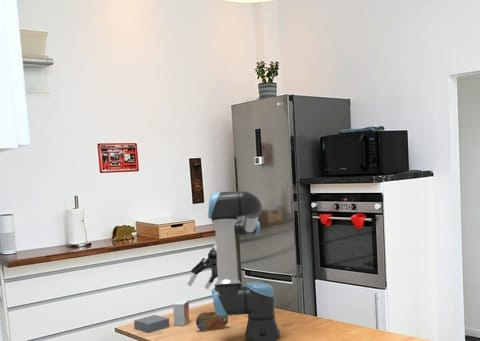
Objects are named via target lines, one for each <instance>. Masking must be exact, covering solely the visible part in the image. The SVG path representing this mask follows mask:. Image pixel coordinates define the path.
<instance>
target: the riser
mask: <svg viewBox="0 0 480 341" xmlns="http://www.w3.org/2000/svg"><path fill="white" fill-rule="evenodd" d="M133 324H134V329H135V330H137V331H141V332H143V333H147V334H150V333H153V331H154V332H157V331H160V330H163V329H165V328H170V318H169V317H165V316H160V315H157V314H152V315H150V316H145V317H141V318H139V319H134V320H133Z"/></svg>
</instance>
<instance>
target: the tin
mask: <svg viewBox="0 0 480 341" xmlns="http://www.w3.org/2000/svg"><path fill="white" fill-rule="evenodd" d="M228 321H229V317H228V316H219V315H217V314H216V312H215V310H213V311H204V312H201V313H199V314H198V315H197V317H196V319H195V324H196V328H198V329H199V330H200V331H202V332H209V331H210V332H211V331H216V330H221V329H224V328H225V327H226V326H227V325H228Z"/></svg>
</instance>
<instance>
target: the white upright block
mask: <svg viewBox="0 0 480 341" xmlns="http://www.w3.org/2000/svg"><path fill="white" fill-rule="evenodd" d="M189 303H190V301H189V300H177V301H176V302H175V303H173V304H172V305H173V306H172V307H173V308H172V309H173V326H176V327H179V326H180V327H182V326H186V325H187V324H189V323H190V305H189Z"/></svg>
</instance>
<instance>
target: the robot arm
mask: <svg viewBox="0 0 480 341" xmlns="http://www.w3.org/2000/svg"><path fill="white" fill-rule="evenodd" d="M262 204H263V203H262V202H261V200H260V199H259V197H258V196H257V195H255V194H253V193H252V192H249V191H246V190H239V191H238V190H237V191H219V192H218V191H217V192H213V193H211V194H210V196H209V200H208V214H207V216H208V219H209V220H211V223H212V224H213V225H214V228H215V242H214V244H213V245H212V247H211V249H209V252H208V254H207V258H204V257H203V258H201V260H200V261H199V262H198V263H197V264H196V265H195V266H194V267H193V268H192V269H191V270H190V272H191V275H190V277H189V279H188V280H187V282H186V284H187V285H188V287H192V285H193V283H194V282H195V280H196V278H197V277H198V275H199V274H201V272H203V271H204V270H207V269H211V274H210V275H209V276H208V279H207V280H206V282H205V283H204V285H203V287H205V289H206V290H209V289H210V287H211V285H212V284H213V283H214V281H215V279H217V281H216V282H215V283H214V288H212V289H211V295H212V300H213V301H212V302H213V307H214V311H215V312H216V314H217V315H219V316H227V317H228V316H237V315H238V316H239V315H247V324H246V327H245V328H246V329H245V332H244V339H245V340H246V341H273V340H275V341H277V340H279V339H280V338H281V332H280V329H279V327H278V325H277V321H276V318H275V317H276V316H275V301H274V300H275V299H274V298H275V294H274V288H273V286H272V285H271V284H270V283H265V282H261V281H260V282H259V281H252V282H251V281H250V282H247V283H246V284H245V286H242V282H241V281H240V280H239V278H238V267H237V253H236V252H237V251H236V250H237V249H236V248H237V247H236V237H241V236H244V237H245V236H257V235H260V233H261V224H260V221H259V220H258V219H259V216H260V215H261V214H262V211H263V205H262ZM240 217H241V218H242V221H238V218H240ZM279 337H280V338H279ZM278 338H279V339H278ZM276 339H277V340H276Z"/></svg>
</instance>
